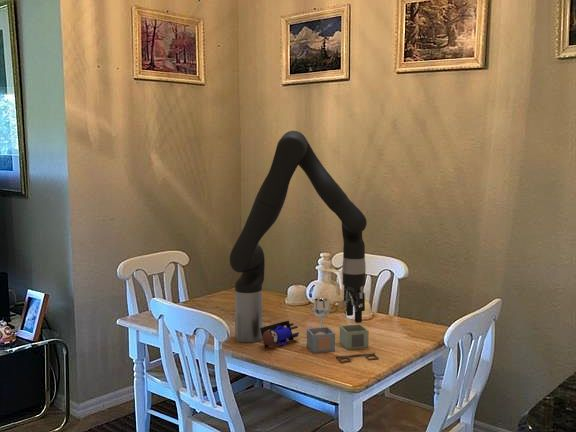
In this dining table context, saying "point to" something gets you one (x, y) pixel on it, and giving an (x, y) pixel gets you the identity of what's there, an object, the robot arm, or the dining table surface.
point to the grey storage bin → (320, 340)
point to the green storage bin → (354, 337)
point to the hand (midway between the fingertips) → (353, 318)
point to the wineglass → (321, 308)
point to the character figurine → (278, 334)
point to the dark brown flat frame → (356, 356)
